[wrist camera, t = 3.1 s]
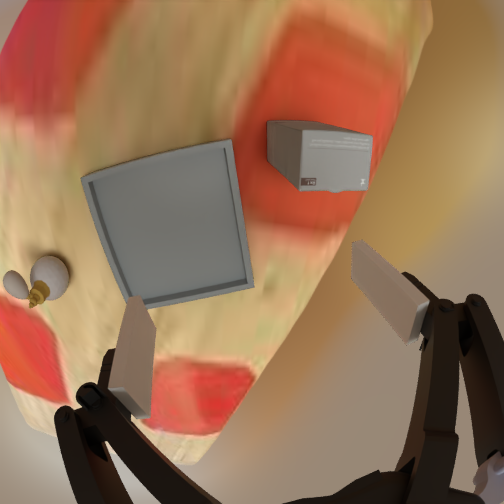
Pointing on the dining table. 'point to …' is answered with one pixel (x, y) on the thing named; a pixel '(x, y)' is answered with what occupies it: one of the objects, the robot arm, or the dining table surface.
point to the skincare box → (319, 155)
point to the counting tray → (173, 224)
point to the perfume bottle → (39, 281)
